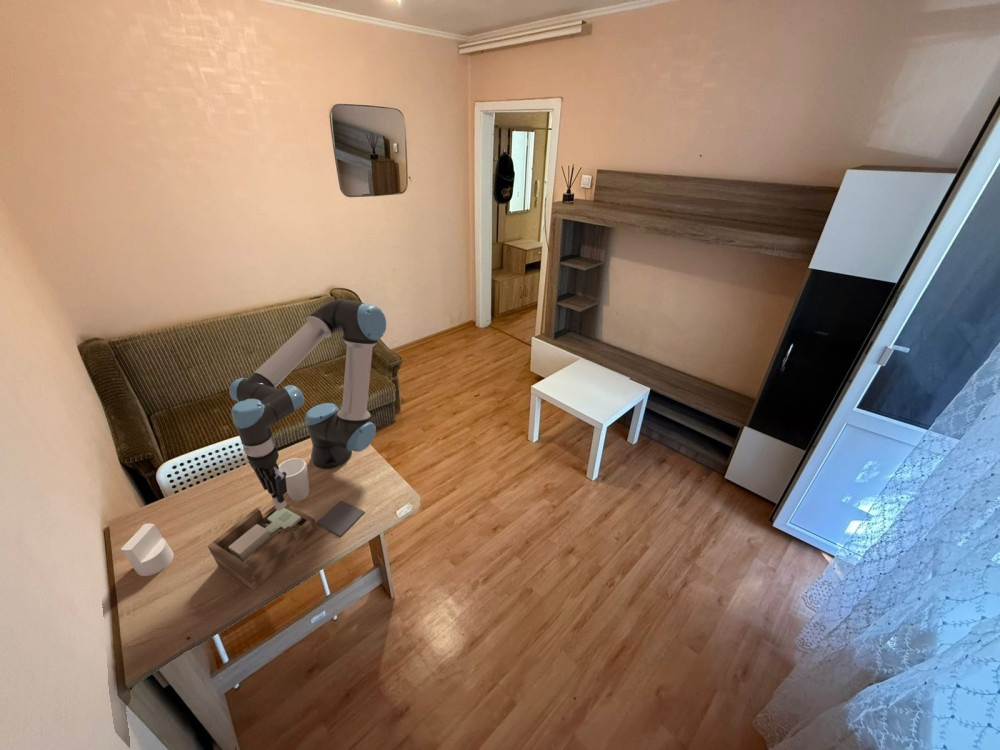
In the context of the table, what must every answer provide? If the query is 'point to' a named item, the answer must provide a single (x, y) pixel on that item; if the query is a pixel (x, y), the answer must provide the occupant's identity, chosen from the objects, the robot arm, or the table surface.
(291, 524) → the bar
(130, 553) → the base with upright slab
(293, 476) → the foam cup
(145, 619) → the table surface
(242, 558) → the part
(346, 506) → the mat
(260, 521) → the wooden box
